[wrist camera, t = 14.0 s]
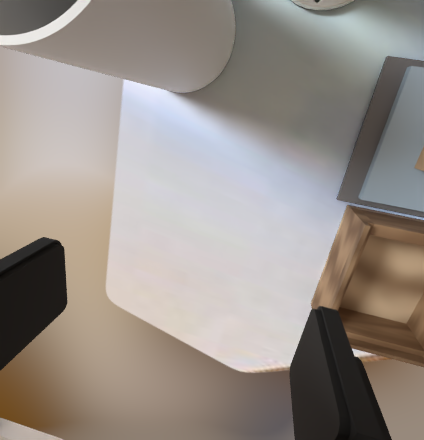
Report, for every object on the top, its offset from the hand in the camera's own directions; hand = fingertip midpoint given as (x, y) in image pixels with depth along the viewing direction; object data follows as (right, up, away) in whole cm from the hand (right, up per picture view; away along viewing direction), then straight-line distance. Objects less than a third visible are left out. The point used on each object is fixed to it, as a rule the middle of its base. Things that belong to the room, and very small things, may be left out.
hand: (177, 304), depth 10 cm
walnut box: (+24, -4, +27) cm, 37 cm away
